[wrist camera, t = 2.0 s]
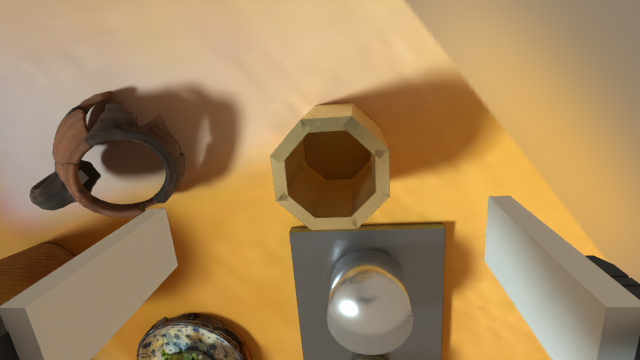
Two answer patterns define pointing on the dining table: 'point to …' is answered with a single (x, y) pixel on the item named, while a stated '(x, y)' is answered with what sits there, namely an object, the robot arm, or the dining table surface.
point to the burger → (192, 340)
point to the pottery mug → (81, 176)
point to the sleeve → (338, 194)
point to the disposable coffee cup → (29, 268)
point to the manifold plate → (391, 241)
